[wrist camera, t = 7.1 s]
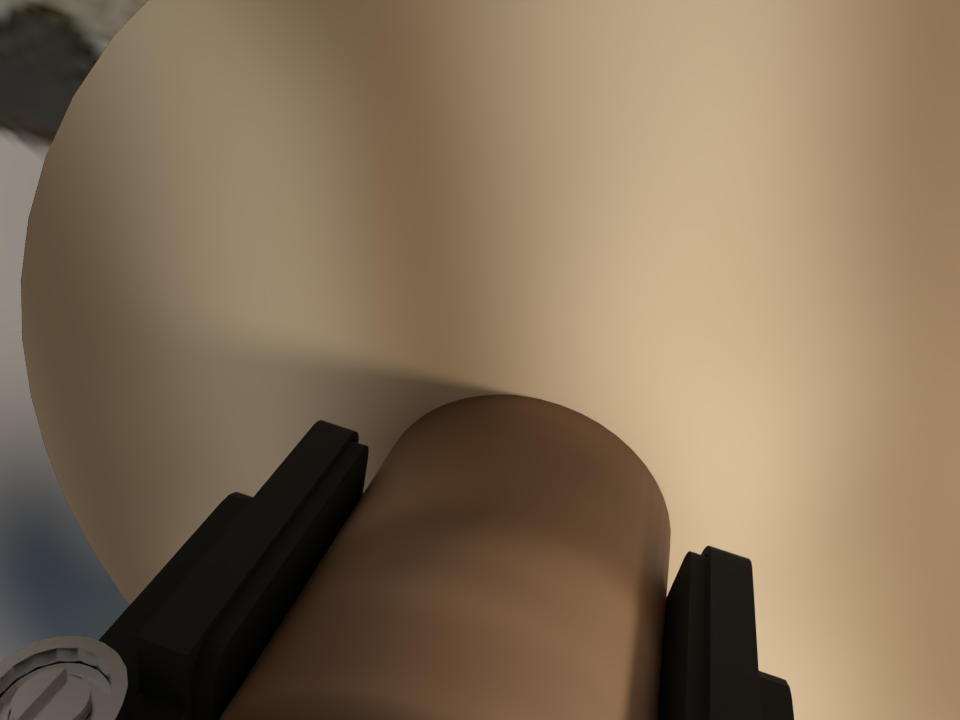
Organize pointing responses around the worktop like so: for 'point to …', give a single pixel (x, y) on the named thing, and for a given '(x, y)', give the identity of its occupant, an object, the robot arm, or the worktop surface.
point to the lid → (525, 334)
